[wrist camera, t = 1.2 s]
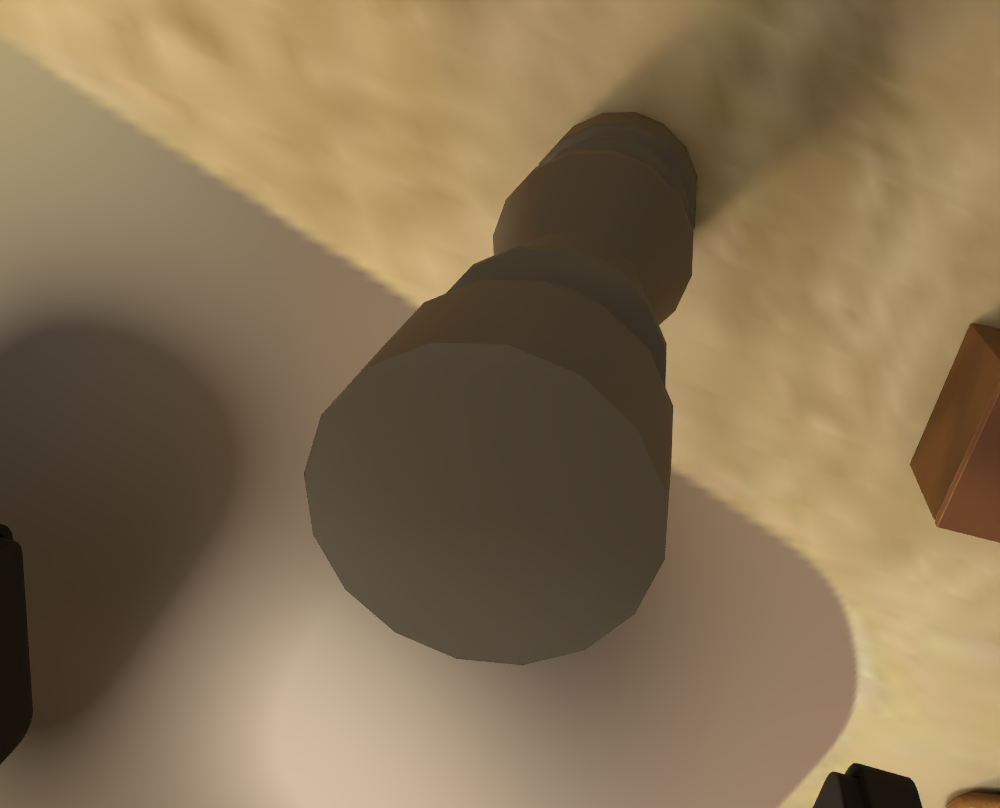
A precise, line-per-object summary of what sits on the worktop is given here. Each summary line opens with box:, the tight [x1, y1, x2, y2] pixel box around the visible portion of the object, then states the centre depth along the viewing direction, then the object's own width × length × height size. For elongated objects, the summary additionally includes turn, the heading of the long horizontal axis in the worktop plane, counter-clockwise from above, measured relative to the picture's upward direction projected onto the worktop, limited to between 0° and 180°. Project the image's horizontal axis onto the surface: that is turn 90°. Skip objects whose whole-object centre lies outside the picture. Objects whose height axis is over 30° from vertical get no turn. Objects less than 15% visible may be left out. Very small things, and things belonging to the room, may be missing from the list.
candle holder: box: [304, 112, 697, 665], centre depth 25 cm, size 6×6×25 cm
